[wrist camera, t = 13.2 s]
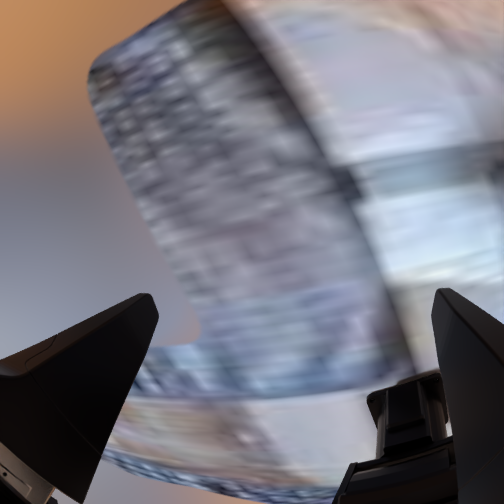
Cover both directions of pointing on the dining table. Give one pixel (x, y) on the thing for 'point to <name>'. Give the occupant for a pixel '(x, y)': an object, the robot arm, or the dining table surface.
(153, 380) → the dining table surface
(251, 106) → the dining table surface
